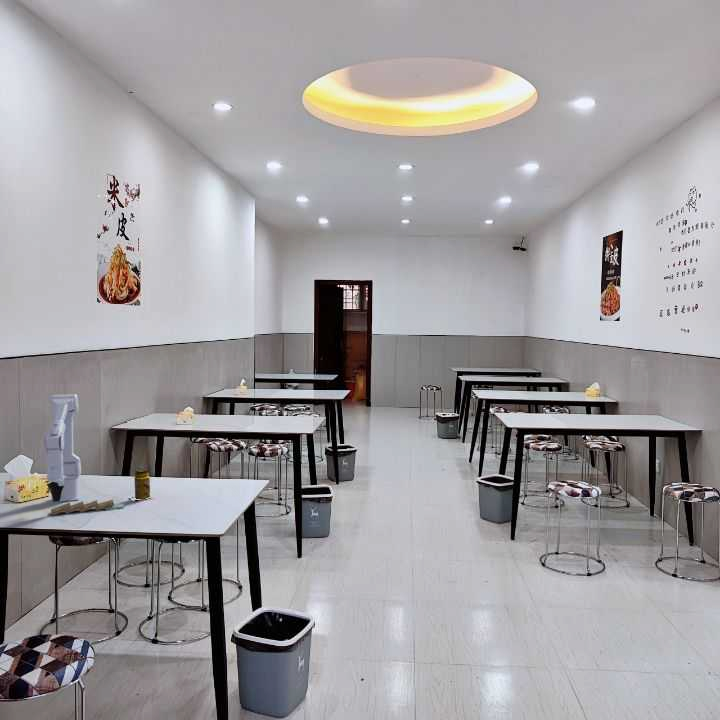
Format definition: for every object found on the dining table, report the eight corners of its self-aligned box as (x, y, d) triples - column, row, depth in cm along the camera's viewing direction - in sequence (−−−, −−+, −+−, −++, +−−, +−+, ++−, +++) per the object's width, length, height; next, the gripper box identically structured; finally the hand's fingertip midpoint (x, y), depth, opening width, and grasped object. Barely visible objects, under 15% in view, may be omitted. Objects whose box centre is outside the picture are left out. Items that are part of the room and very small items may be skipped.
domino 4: (94, 504, 281) (112, 499, 284) (95, 508, 281) (113, 502, 284) (95, 507, 277) (113, 501, 279) (96, 510, 277) (114, 505, 280)
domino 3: (78, 506, 279) (96, 500, 281) (79, 509, 279) (97, 503, 282) (79, 509, 275) (97, 502, 277) (80, 512, 275) (98, 505, 278)
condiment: (153, 498, 294) (152, 470, 294) (132, 502, 290) (131, 473, 289) (148, 495, 301) (147, 467, 300) (127, 498, 296) (126, 470, 295)
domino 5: (104, 505, 282) (123, 503, 285) (105, 509, 282) (123, 507, 285) (105, 508, 278) (123, 506, 280) (105, 511, 278) (124, 509, 281)
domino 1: (51, 509, 275) (69, 502, 278) (52, 512, 275) (70, 505, 278) (50, 512, 271) (69, 505, 274) (52, 515, 271) (70, 508, 274)
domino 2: (64, 508, 277) (82, 501, 280) (65, 511, 277) (84, 504, 280) (64, 510, 273) (83, 503, 276) (66, 514, 273) (84, 507, 276)
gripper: (72, 467, 270) (73, 502, 271) (59, 462, 281) (60, 495, 282) (53, 470, 265) (54, 506, 266) (40, 464, 276) (42, 498, 277)
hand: (56, 501), depth 274 cm, fingers closed
